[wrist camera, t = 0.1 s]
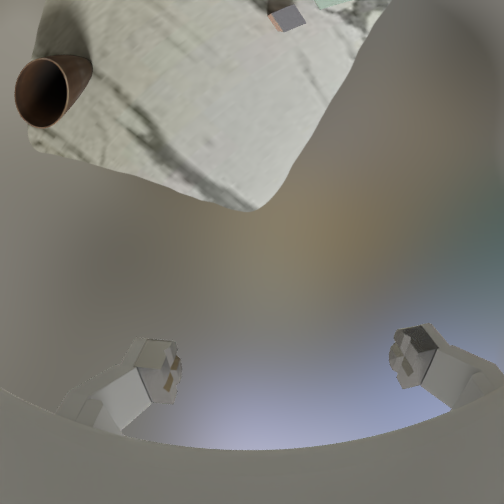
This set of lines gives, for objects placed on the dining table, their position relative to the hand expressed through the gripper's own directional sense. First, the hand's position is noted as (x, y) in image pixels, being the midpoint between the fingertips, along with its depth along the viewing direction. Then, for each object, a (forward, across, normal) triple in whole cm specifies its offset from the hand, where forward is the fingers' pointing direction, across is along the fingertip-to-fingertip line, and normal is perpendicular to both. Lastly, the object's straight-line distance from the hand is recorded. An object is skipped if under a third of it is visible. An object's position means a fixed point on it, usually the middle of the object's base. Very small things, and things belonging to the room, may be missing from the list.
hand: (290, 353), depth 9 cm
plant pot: (+44, +40, -32) cm, 68 cm away
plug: (+42, -5, -36) cm, 56 cm away
